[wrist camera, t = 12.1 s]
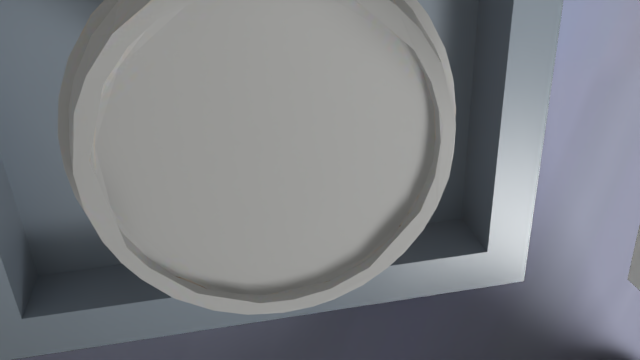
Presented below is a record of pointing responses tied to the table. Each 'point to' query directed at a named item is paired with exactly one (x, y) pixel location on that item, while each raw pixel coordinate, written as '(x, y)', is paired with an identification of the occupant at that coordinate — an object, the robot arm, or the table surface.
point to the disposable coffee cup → (258, 143)
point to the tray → (181, 317)
